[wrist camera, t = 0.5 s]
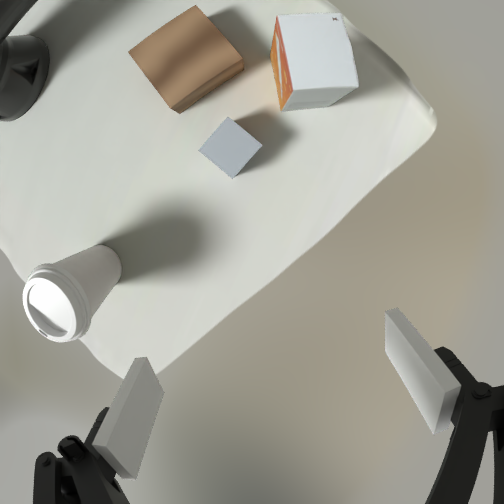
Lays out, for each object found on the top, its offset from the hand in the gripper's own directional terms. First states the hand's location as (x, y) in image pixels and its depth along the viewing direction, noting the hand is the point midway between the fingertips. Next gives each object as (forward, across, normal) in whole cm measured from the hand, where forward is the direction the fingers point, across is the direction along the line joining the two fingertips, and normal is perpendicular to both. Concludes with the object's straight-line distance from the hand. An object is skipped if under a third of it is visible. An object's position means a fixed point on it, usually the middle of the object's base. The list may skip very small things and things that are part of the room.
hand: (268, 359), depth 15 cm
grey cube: (+26, -1, +12) cm, 29 cm away
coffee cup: (+26, -23, +1) cm, 35 cm away
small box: (+26, +9, +19) cm, 34 cm away
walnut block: (+26, -4, +25) cm, 36 cm away
